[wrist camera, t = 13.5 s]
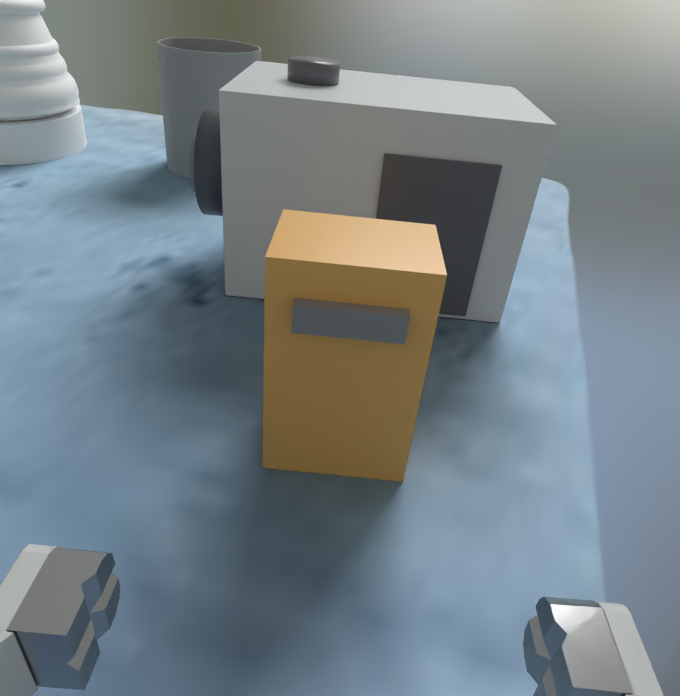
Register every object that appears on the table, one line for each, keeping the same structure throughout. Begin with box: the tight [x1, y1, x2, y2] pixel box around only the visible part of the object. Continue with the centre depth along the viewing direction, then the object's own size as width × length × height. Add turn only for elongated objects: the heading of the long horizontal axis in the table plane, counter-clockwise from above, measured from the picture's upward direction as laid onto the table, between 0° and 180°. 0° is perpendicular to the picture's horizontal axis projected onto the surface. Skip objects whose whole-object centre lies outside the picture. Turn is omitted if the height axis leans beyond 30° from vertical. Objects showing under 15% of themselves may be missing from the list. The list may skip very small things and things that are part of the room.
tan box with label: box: [263, 209, 447, 482], centre depth 21 cm, size 4×6×9 cm
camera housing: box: [189, 56, 556, 323], centre depth 33 cm, size 10×19×12 cm, turn 87°
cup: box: [157, 38, 261, 179], centre depth 49 cm, size 8×8×10 cm
